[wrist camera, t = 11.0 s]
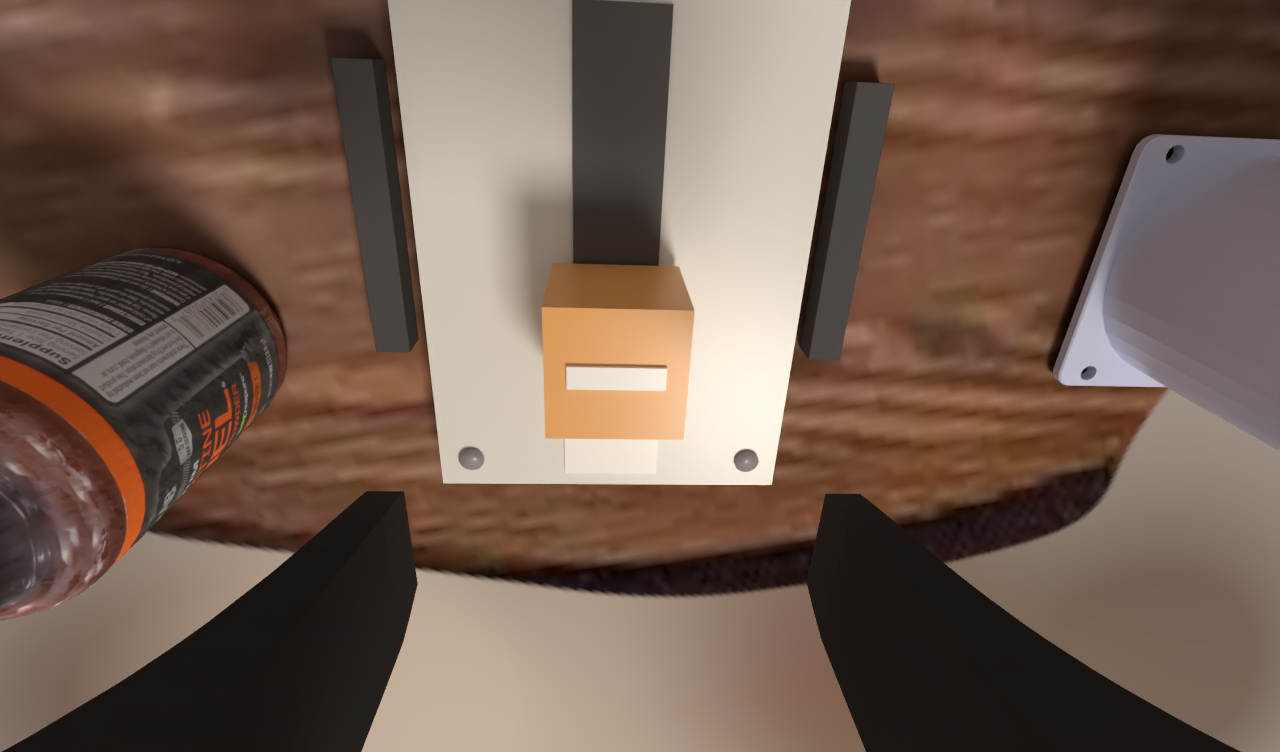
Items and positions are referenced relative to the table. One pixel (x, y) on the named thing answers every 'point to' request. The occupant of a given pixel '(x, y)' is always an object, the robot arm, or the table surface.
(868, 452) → the table surface
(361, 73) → the twin dark grey rails
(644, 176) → the panel
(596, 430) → the orange cube
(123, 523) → the supplement bottle
